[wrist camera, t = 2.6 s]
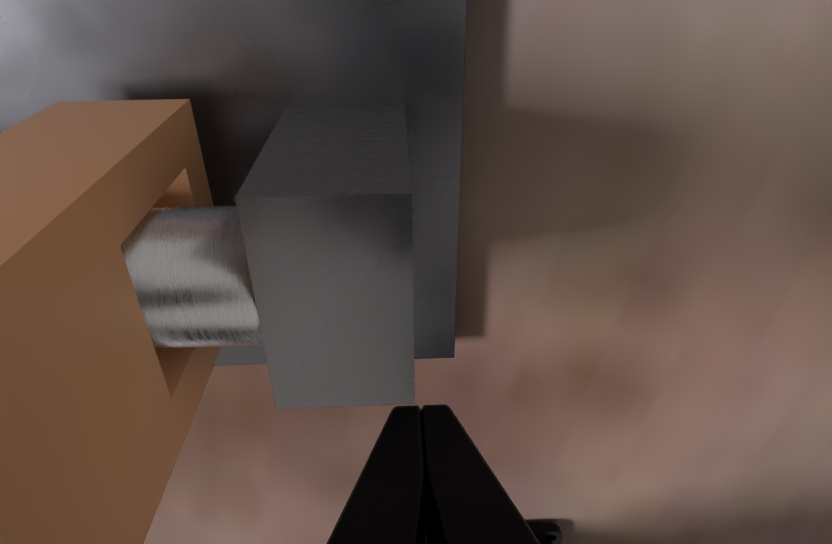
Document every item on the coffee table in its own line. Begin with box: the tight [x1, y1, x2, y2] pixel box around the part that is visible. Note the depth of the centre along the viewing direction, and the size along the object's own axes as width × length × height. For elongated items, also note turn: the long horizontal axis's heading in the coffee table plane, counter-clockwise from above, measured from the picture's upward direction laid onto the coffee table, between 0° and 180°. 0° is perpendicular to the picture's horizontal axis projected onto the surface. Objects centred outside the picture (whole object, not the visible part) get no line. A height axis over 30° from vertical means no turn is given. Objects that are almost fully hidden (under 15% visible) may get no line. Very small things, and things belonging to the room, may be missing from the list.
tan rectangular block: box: [0, 99, 221, 544], centre depth 10 cm, size 3×6×10 cm, turn 0°
